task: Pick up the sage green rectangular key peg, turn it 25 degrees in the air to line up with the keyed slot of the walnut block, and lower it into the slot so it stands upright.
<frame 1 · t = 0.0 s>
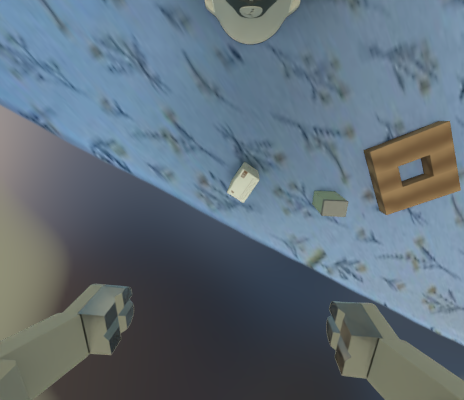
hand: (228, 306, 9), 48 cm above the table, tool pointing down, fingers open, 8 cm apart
skincare box: (244, 174, 56), on the table
walnut slot block: (406, 168, 53), on the table
keyed peg: (323, 197, 57), on the table
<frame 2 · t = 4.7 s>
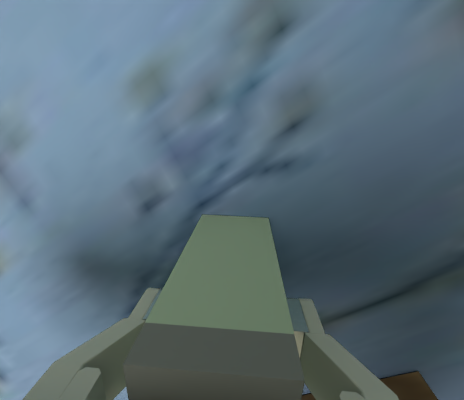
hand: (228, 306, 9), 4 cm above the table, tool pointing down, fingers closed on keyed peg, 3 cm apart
keyed peg: (233, 257, 13), on the table, touching gripper
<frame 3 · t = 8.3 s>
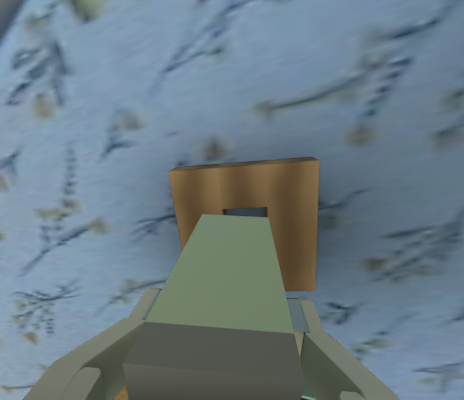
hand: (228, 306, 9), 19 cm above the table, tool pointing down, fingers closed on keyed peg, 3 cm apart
walnut slot block: (246, 224, 29), on the table
keyed peg: (233, 257, 13), point 16 cm above the table, touching gripper
when the fingers open (5 cm above the table, at t = 11.8 s): keyed peg stays where it is, resting in walnut slot block.
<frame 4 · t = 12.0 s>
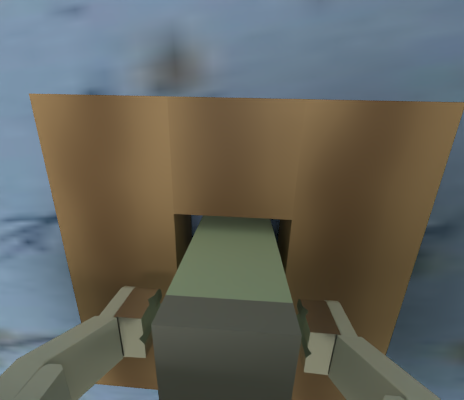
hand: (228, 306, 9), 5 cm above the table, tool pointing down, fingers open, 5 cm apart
walnut slot block: (233, 249, 14), on the table
keyed peg: (235, 248, 14), resting in walnut slot block
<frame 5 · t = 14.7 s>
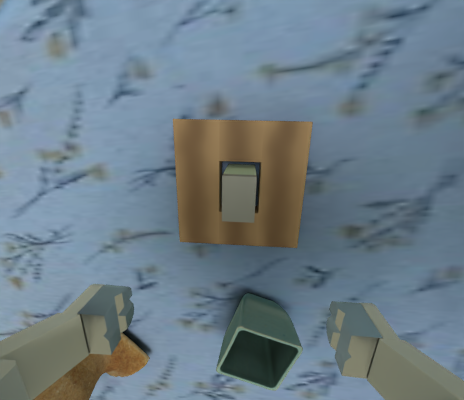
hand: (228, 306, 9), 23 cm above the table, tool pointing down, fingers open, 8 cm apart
walnut slot block: (240, 182, 31), on the table
flower pot: (255, 307, 38), on the table
keyed peg: (240, 182, 31), resting in walnut slot block
stone cup: (105, 337, 42), on the table
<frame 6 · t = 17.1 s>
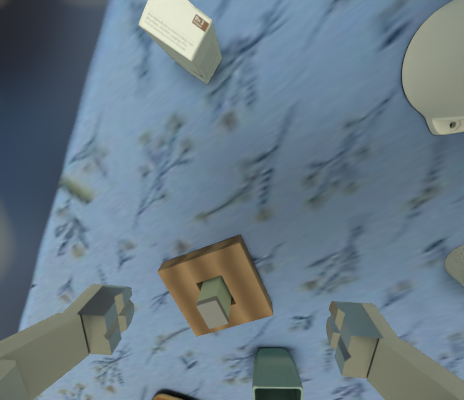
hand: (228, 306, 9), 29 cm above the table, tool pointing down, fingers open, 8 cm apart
skincare box: (199, 59, 33), on the table
walnut slot block: (218, 282, 44), on the table
flower pot: (272, 355, 49), on the table
keyed peg: (218, 282, 44), resting in walnut slot block
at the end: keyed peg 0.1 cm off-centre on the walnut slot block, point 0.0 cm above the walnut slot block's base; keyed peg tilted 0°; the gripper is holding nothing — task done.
